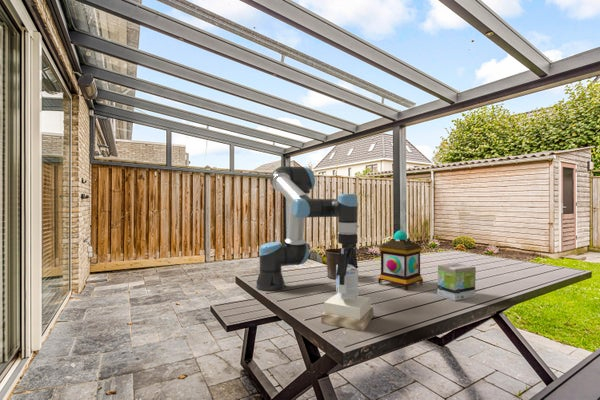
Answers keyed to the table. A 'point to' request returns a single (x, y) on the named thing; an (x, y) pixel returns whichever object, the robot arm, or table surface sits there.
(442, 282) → the tea box
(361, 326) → the tower base slab
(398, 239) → the decorative lantern
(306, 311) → the table surface
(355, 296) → the light bulb box
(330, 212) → the robot arm
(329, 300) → the tower top slab
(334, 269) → the plant pot
